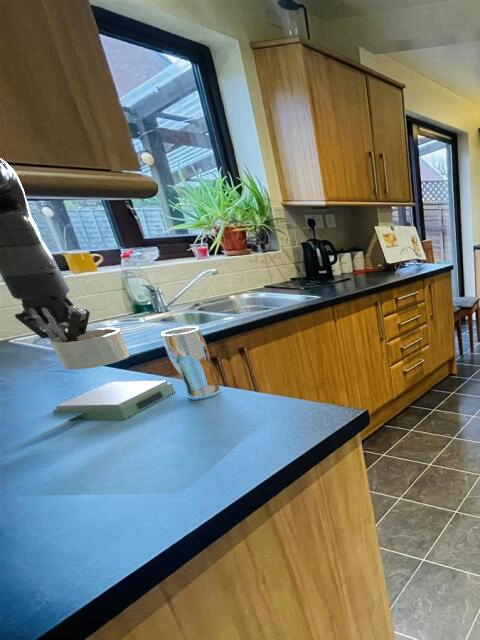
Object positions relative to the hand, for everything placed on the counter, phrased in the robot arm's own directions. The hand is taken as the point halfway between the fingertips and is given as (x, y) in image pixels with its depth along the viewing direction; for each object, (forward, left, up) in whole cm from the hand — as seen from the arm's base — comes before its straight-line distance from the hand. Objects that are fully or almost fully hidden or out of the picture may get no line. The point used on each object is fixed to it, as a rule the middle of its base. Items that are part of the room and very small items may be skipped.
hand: (74, 356), depth 82 cm
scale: (+5, 0, -12) cm, 12 cm away
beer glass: (+20, +5, -12) cm, 23 cm away
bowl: (+5, 0, -1) cm, 5 cm away
